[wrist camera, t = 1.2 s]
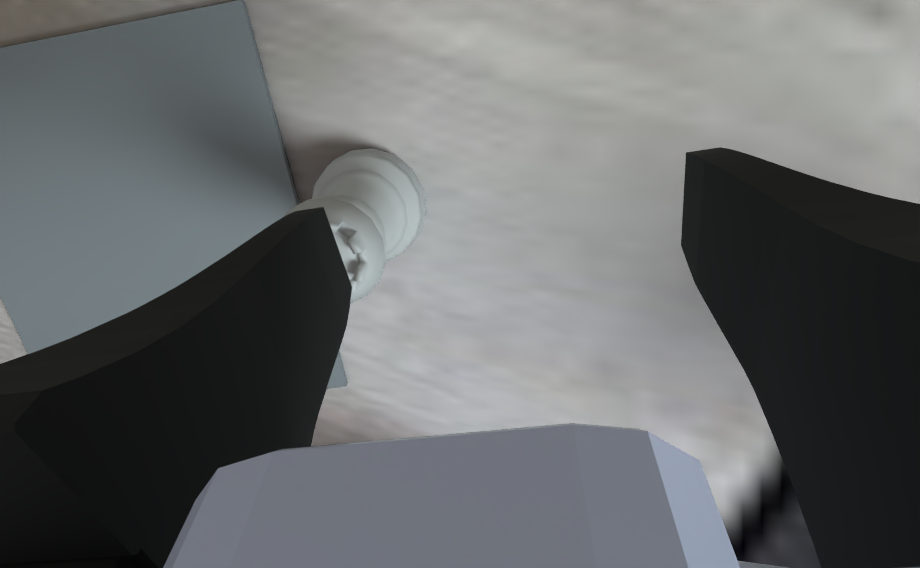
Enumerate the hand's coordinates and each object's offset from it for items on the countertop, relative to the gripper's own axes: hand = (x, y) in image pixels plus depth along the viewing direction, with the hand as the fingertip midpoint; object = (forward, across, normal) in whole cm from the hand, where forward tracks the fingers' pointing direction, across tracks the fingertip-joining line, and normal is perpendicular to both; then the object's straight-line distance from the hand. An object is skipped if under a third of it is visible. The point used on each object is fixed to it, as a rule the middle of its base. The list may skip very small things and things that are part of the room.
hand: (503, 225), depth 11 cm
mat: (+10, +16, +4) cm, 19 cm away
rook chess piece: (+11, +6, +4) cm, 13 cm away
